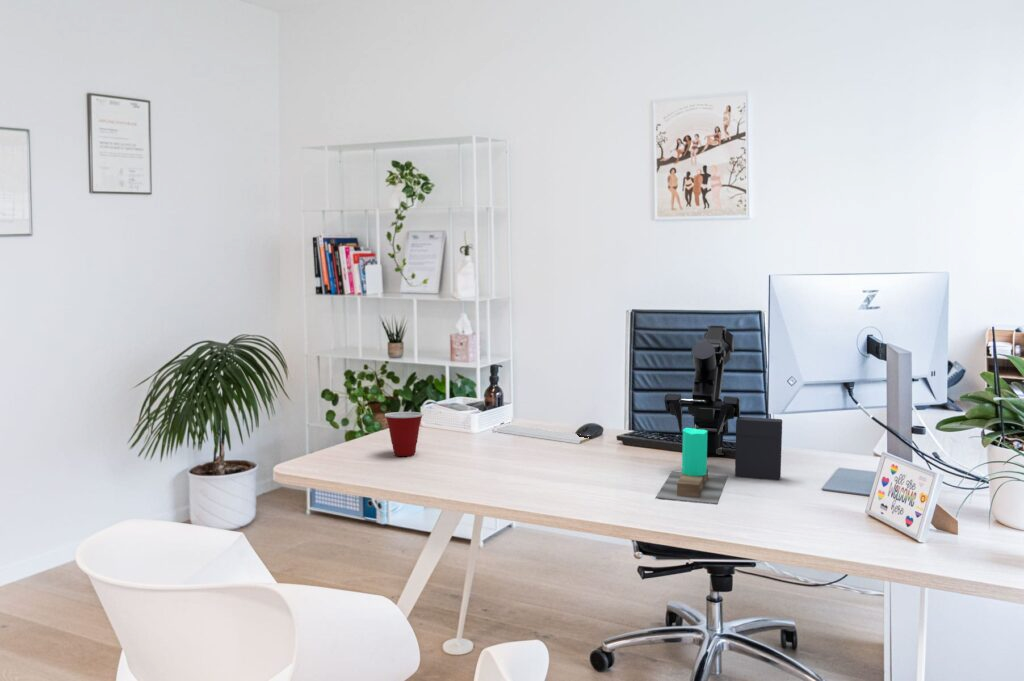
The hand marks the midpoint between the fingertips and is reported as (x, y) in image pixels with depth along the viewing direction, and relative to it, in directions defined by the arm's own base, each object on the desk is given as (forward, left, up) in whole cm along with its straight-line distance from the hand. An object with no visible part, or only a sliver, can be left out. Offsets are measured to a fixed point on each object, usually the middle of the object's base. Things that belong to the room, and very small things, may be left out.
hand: (698, 432), depth 220 cm
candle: (+4, +7, -8) cm, 12 cm away
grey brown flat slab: (+5, +8, -11) cm, 15 cm away
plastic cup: (+71, -39, -12) cm, 82 cm away
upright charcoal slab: (-15, +3, -12) cm, 19 cm away
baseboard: (+28, -54, -12) cm, 62 cm away
